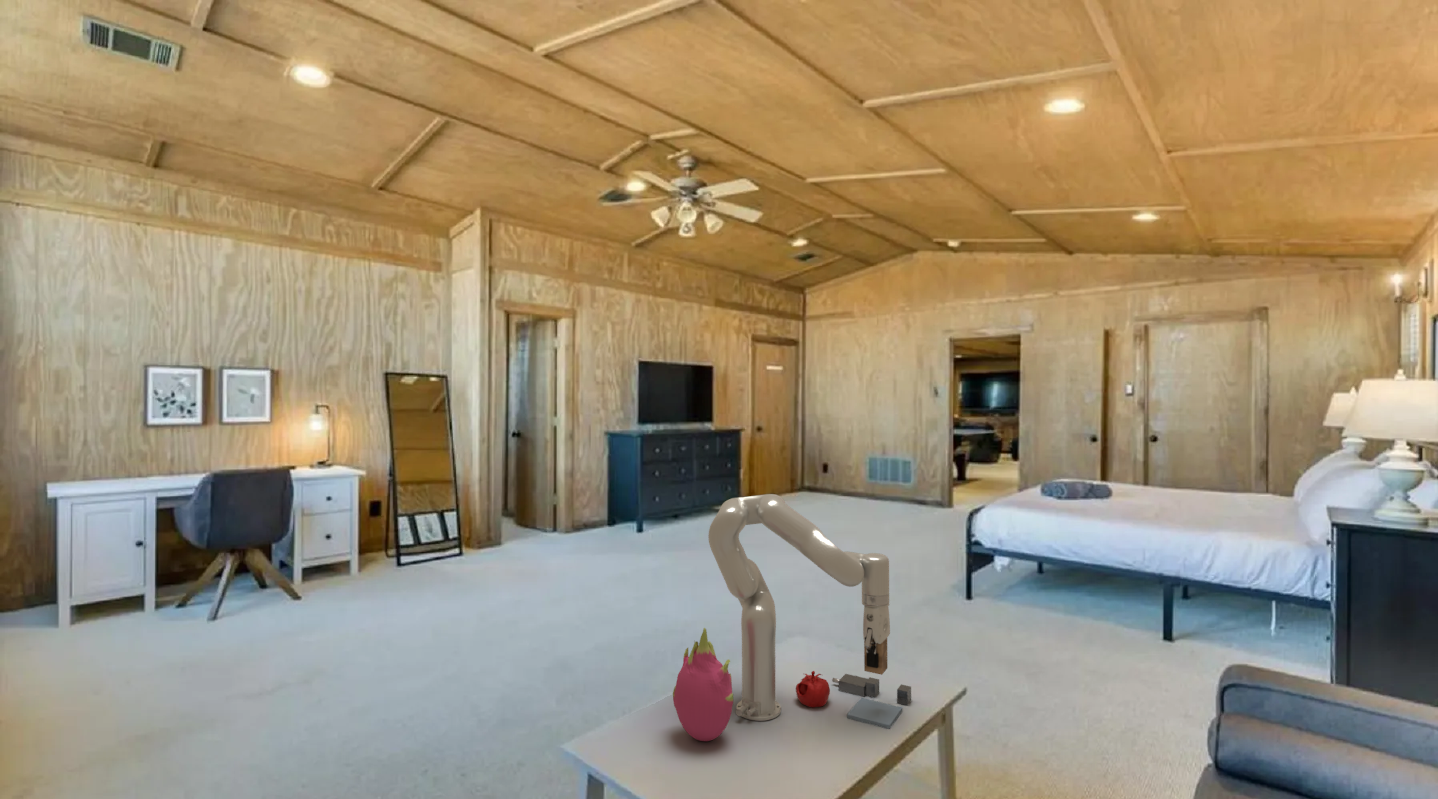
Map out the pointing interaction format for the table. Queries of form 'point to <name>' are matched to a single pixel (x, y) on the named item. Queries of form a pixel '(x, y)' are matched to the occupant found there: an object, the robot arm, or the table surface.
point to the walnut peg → (881, 658)
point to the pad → (875, 713)
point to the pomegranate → (813, 690)
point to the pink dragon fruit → (703, 692)
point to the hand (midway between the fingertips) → (875, 662)
